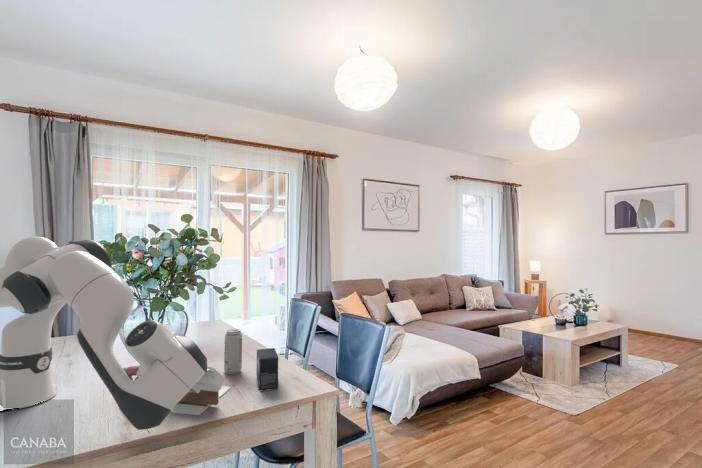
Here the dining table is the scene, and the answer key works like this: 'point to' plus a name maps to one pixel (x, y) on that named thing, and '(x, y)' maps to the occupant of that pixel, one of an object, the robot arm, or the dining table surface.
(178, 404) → the card
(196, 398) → the fence panel
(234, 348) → the energy drink can
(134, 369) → the video game controller
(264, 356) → the small box
